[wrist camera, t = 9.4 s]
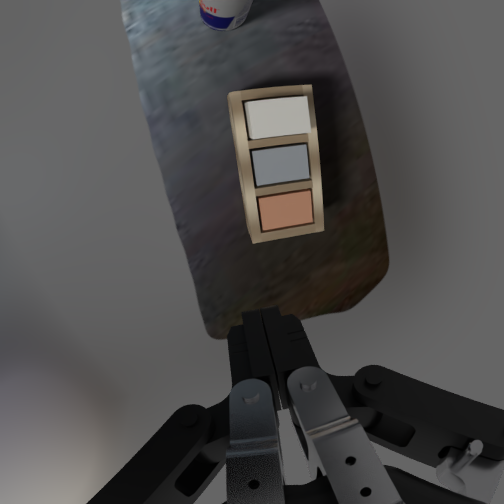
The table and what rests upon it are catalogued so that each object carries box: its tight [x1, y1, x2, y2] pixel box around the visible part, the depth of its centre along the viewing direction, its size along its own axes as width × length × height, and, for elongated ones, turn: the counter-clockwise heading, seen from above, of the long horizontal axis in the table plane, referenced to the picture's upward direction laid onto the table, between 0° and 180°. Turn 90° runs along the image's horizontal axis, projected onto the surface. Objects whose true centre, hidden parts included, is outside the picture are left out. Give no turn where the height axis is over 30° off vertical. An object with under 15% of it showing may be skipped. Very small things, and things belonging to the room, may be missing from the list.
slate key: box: [249, 143, 309, 186], centre depth 31 cm, size 4×6×3 cm, turn 98°
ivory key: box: [244, 96, 311, 139], centre depth 26 cm, size 4×6×3 cm, turn 98°
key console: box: [227, 85, 324, 243], centre depth 32 cm, size 16×8×6 cm, turn 8°
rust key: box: [256, 188, 313, 230], centre depth 33 cm, size 4×6×3 cm, turn 98°
